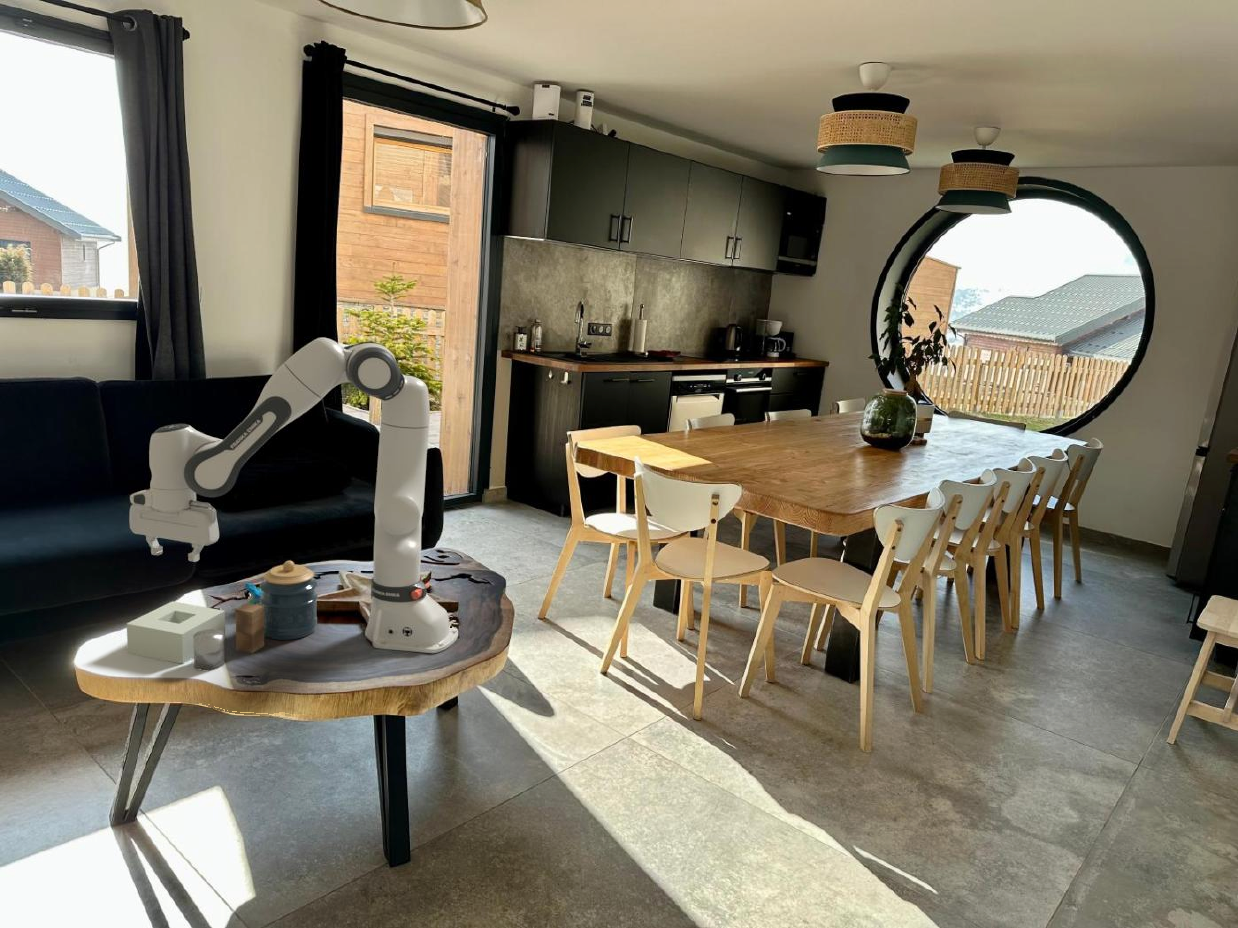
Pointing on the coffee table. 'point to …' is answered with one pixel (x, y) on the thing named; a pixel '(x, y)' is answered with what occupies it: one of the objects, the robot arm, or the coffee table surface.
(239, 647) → the square bit
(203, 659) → the round bit
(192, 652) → the block
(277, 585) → the canister
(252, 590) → the blue irregular piece
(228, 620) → the coffee table surface
